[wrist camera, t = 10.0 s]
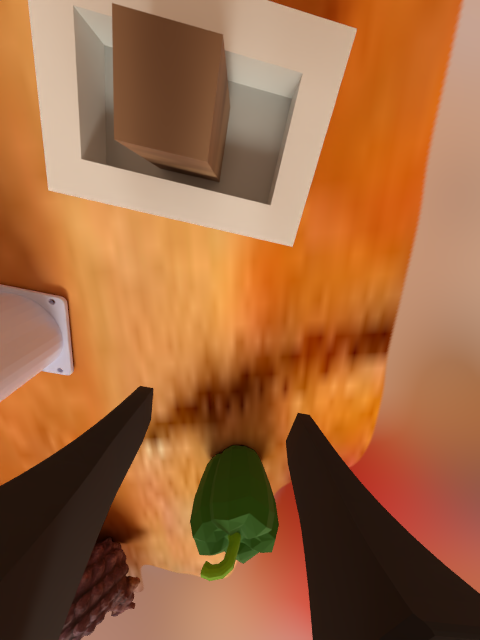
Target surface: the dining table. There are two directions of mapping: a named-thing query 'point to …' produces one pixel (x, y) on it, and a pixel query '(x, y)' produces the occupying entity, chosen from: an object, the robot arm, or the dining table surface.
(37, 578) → the robot arm
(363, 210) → the dining table surface
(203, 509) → the bell pepper
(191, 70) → the bracket block
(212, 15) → the well trough
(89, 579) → the pine cone
